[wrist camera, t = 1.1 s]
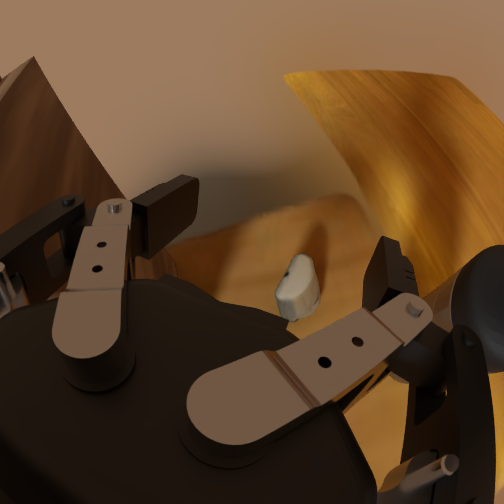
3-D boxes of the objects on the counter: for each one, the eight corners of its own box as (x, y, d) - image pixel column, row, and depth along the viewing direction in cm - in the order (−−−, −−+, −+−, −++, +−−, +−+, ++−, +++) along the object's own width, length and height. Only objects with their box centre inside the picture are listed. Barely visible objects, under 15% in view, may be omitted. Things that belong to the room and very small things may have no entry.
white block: (272, 281, 37) (269, 254, 30) (313, 275, 37) (320, 248, 30) (278, 325, 35) (276, 309, 28) (320, 319, 35) (330, 301, 27)
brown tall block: (174, 261, 40) (22, 34, 9) (193, 354, 34) (-88, 184, 4) (102, 283, 40) (-74, 126, 9) (112, 370, 34) (-136, 274, 3)
